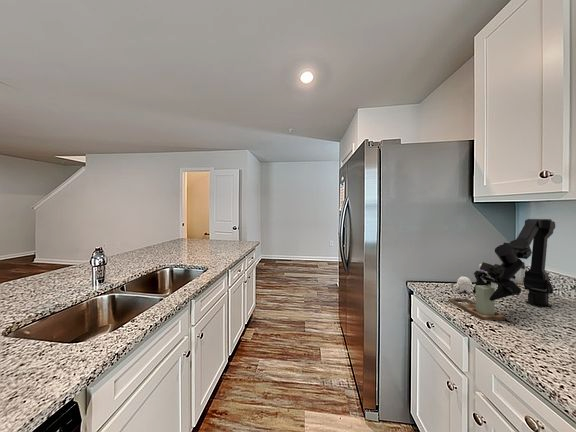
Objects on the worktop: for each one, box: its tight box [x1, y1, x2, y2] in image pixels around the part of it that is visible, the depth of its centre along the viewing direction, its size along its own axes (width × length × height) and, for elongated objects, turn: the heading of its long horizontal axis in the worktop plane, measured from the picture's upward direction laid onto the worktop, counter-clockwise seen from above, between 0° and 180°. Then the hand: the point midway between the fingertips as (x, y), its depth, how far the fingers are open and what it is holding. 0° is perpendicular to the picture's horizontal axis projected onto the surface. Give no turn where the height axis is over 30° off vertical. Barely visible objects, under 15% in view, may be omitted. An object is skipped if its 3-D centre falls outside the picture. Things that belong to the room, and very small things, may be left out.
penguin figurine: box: [456, 275, 473, 294], centre depth 142 cm, size 6×8×12 cm
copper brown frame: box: [448, 297, 506, 321], centre depth 115 cm, size 9×22×1 cm, turn 0°
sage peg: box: [475, 285, 496, 316], centre depth 109 cm, size 4×4×12 cm
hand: (481, 296), depth 108 cm, fingers open, 9 cm apart
